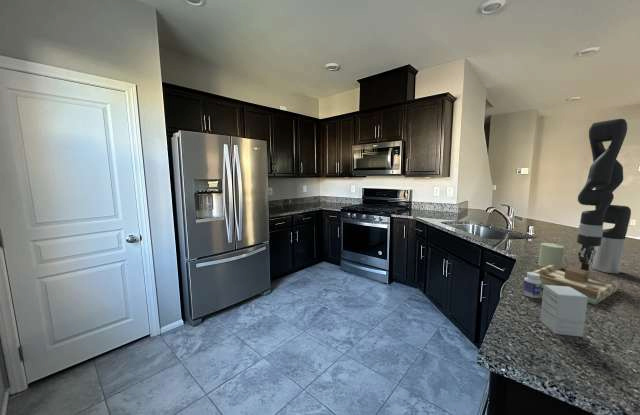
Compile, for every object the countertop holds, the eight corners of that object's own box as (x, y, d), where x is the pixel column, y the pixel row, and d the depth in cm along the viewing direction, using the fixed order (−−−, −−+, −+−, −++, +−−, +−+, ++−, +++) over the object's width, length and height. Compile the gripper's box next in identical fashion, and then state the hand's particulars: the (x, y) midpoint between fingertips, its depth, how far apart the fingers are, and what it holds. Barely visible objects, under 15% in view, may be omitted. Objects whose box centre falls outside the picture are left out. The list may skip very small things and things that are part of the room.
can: (566, 270, 127) (569, 247, 126) (545, 268, 129) (548, 246, 128) (553, 264, 136) (556, 242, 135) (534, 262, 138) (536, 241, 137)
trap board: (550, 272, 125) (552, 262, 124) (617, 289, 105) (619, 278, 105) (525, 282, 112) (526, 271, 112) (595, 304, 93) (597, 291, 92)
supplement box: (565, 323, 81) (570, 286, 80) (583, 337, 74) (589, 297, 72) (538, 320, 83) (543, 283, 81) (553, 334, 76) (559, 294, 74)
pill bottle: (536, 299, 97) (539, 277, 96) (520, 294, 101) (522, 272, 100) (541, 296, 100) (544, 274, 99) (525, 291, 104) (528, 270, 103)
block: (569, 275, 116) (570, 267, 115) (588, 280, 110) (589, 271, 110) (564, 277, 113) (565, 269, 112) (582, 282, 107) (584, 273, 107)
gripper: (583, 231, 120) (578, 266, 122) (572, 234, 114) (567, 270, 116) (607, 234, 113) (601, 271, 115) (596, 237, 107) (590, 276, 109)
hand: (584, 271), depth 116 cm, fingers closed
